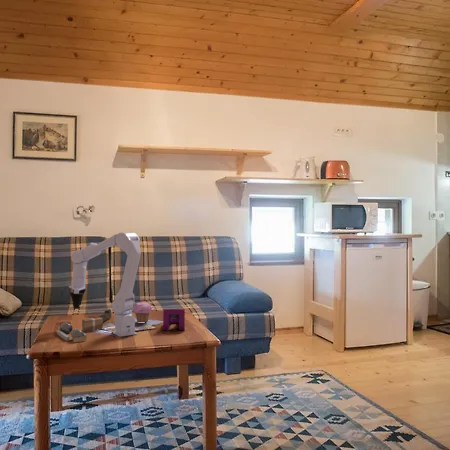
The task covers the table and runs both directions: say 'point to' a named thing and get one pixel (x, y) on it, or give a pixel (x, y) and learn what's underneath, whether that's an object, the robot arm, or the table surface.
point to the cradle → (66, 335)
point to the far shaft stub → (65, 328)
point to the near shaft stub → (77, 336)
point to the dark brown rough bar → (106, 315)
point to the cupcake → (142, 311)
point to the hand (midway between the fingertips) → (77, 306)
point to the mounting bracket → (171, 314)
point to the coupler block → (92, 324)
